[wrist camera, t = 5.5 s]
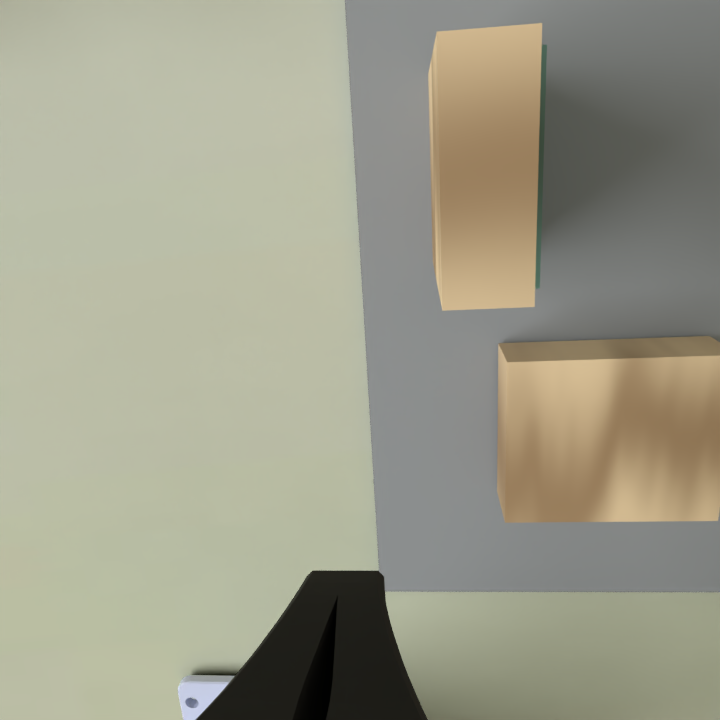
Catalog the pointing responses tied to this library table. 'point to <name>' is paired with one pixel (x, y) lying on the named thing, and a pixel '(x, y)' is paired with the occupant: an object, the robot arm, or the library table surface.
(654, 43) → the felt mat
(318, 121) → the library table surface
